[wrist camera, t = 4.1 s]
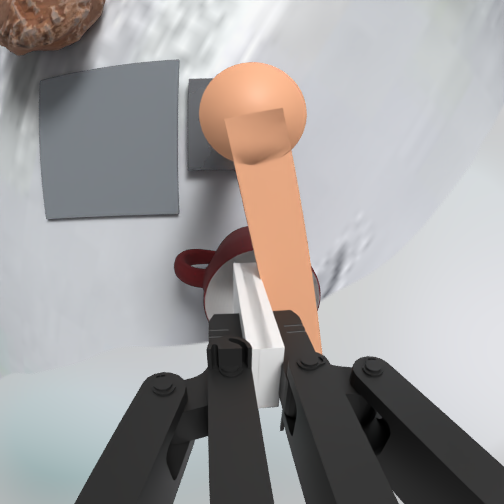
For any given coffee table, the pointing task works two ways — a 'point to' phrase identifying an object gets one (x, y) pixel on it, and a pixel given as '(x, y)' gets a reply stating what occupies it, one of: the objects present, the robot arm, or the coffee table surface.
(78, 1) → the decorative rock
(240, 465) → the robot arm
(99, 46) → the coffee table surface
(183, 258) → the mug
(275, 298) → the ball-ended drumstick
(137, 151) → the mat
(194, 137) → the clip post
